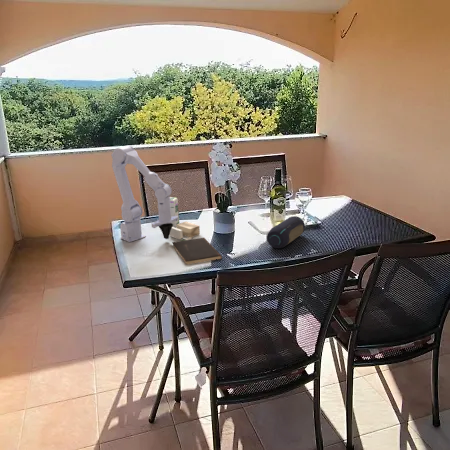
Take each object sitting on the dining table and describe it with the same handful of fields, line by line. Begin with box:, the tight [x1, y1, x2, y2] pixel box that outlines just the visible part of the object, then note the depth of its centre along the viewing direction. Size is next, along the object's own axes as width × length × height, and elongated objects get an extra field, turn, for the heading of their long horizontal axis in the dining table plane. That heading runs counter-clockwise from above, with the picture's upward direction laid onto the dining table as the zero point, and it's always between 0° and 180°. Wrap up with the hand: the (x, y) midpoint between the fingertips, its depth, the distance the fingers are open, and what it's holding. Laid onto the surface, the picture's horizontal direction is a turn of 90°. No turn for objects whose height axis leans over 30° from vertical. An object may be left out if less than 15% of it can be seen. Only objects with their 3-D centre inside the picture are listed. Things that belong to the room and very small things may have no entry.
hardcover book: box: [171, 237, 223, 265], centre depth 191 cm, size 16×23×2 cm
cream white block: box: [169, 227, 186, 241], centre depth 207 cm, size 4×10×4 cm, turn 46°
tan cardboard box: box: [176, 221, 201, 241], centre depth 209 cm, size 16×12×4 cm
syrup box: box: [170, 196, 180, 228], centre depth 223 cm, size 6×6×14 cm
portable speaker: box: [266, 215, 306, 249], centre depth 199 cm, size 25×10×10 cm, turn 146°
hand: (166, 238), depth 203 cm, fingers closed
